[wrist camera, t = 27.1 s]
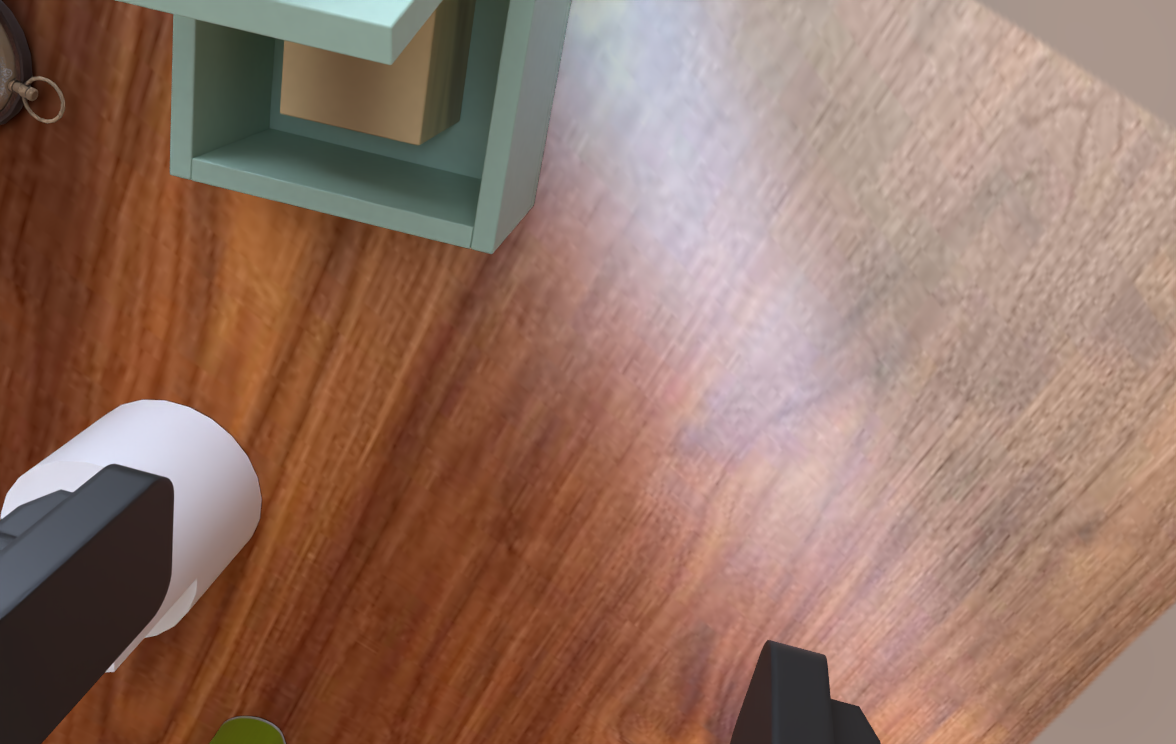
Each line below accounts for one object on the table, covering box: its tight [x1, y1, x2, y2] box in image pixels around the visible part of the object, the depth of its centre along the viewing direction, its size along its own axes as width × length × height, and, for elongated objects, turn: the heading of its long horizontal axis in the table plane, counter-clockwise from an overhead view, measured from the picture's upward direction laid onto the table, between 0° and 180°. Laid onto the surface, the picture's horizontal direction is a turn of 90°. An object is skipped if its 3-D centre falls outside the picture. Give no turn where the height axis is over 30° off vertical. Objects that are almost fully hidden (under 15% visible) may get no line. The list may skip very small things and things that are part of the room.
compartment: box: [170, 0, 571, 254], centre depth 35 cm, size 13×12×7 cm
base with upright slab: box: [1, 400, 262, 672], centre depth 43 cm, size 9×9×12 cm
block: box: [280, 0, 476, 145], centre depth 35 cm, size 5×5×5 cm
